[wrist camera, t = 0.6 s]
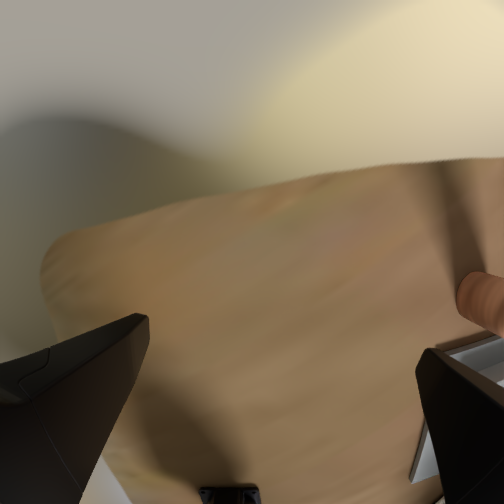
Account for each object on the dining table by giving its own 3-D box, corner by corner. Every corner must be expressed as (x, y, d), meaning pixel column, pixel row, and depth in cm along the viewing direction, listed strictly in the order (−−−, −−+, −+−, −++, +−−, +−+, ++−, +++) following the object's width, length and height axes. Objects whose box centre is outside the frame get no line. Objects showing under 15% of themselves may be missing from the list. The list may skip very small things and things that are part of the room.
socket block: (512, 432, 24) (526, 445, 20) (409, 478, 25) (419, 499, 21) (544, 315, 23) (565, 324, 19) (437, 353, 23) (458, 371, 19)
